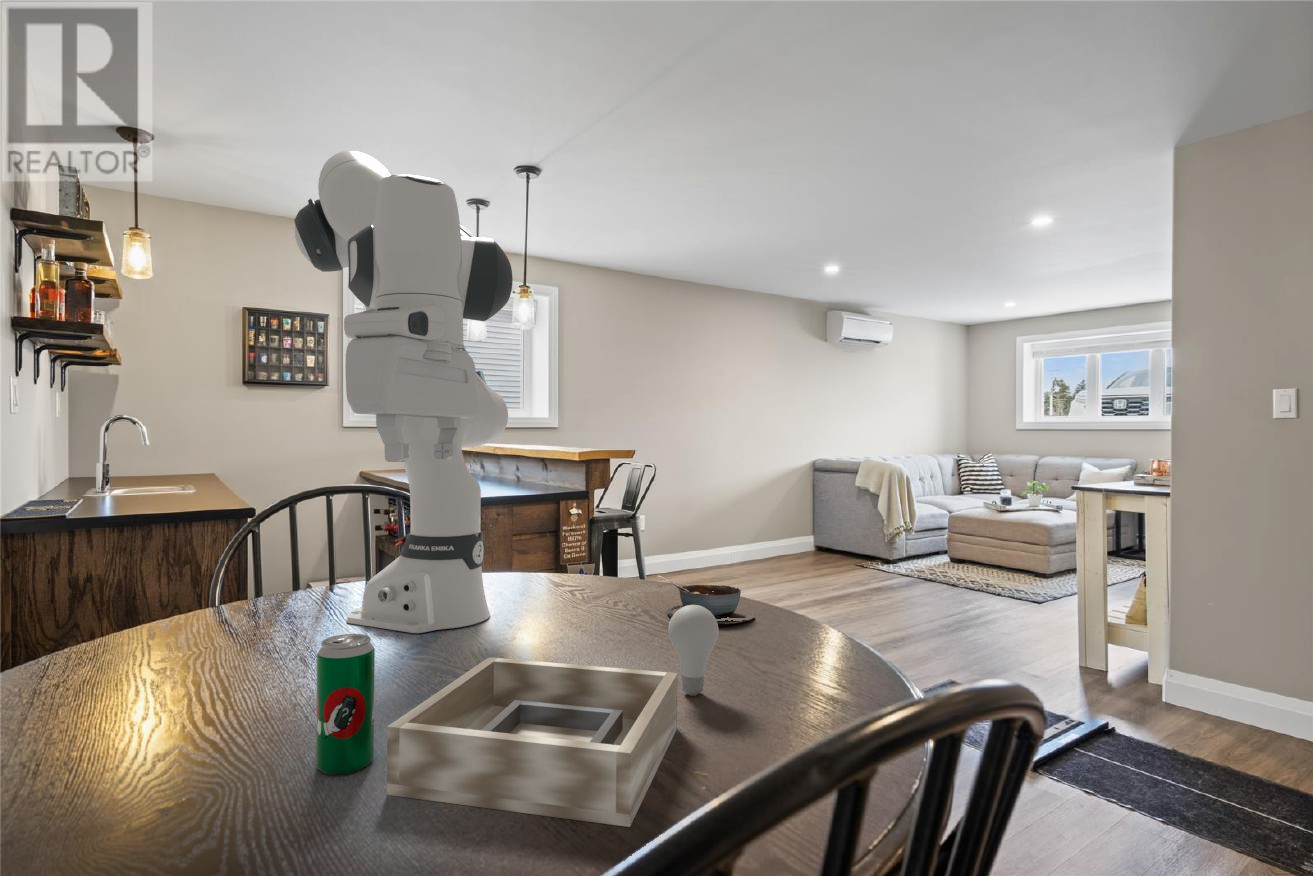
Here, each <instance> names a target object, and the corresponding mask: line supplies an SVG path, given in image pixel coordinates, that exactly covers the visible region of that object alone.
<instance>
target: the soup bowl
mask: <svg viewBox="0 0 1313 876" xmlns="http://www.w3.org/2000/svg"><path fill="white" fill-rule="evenodd" d="M657 577H658V578H659V579H662V580H665V581H666V582H668V583H670V584H671V585H674V586H675V587H676V588H677V589H678V590H679V596H680V600H681V601H680V602H681V603H682V604H681V605H677V606H676V605H675V606H672V607H670V608H668V609H667V610H666V614H667V615H668V616H669V617H670V619H671V618H672V616H673V614H674V613H673V610H674V609H676V610H677V609H678V610H679V609H680V607H681V608H682V607H684V606H687V605H699V606H702V607H704V608H706V609H708V610H709V611H710V612H711V613H712V614H713V615H714V617H715V618H716V619H721V618H727V617H731V615H732V614H733V613H735V612H736V610H737V608H738V605H739V604H740V603H739V602H740V600H741V594H742V591H741V589H739V587H735V586H730V585H724V584H723V585H716V584H690V585H682V586H681V585H679V584H677V583H675V582H672V580H669V579H668V578H665V577H664V576H661V575H657ZM712 591H714V592H712ZM674 611H675V610H674ZM672 613H673V614H672ZM753 618H754V617H753ZM753 618H752V619H753ZM752 619H750V620H742V621H733V620H731V621H728V620H725V621H717V624H718V625H723V626H732V625H731V624H734V625H738V624H737V623H739V624H743V622H744V623H746V622H749V621H753V620H754V619H753V620H752ZM745 621H746V622H745Z"/></svg>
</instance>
